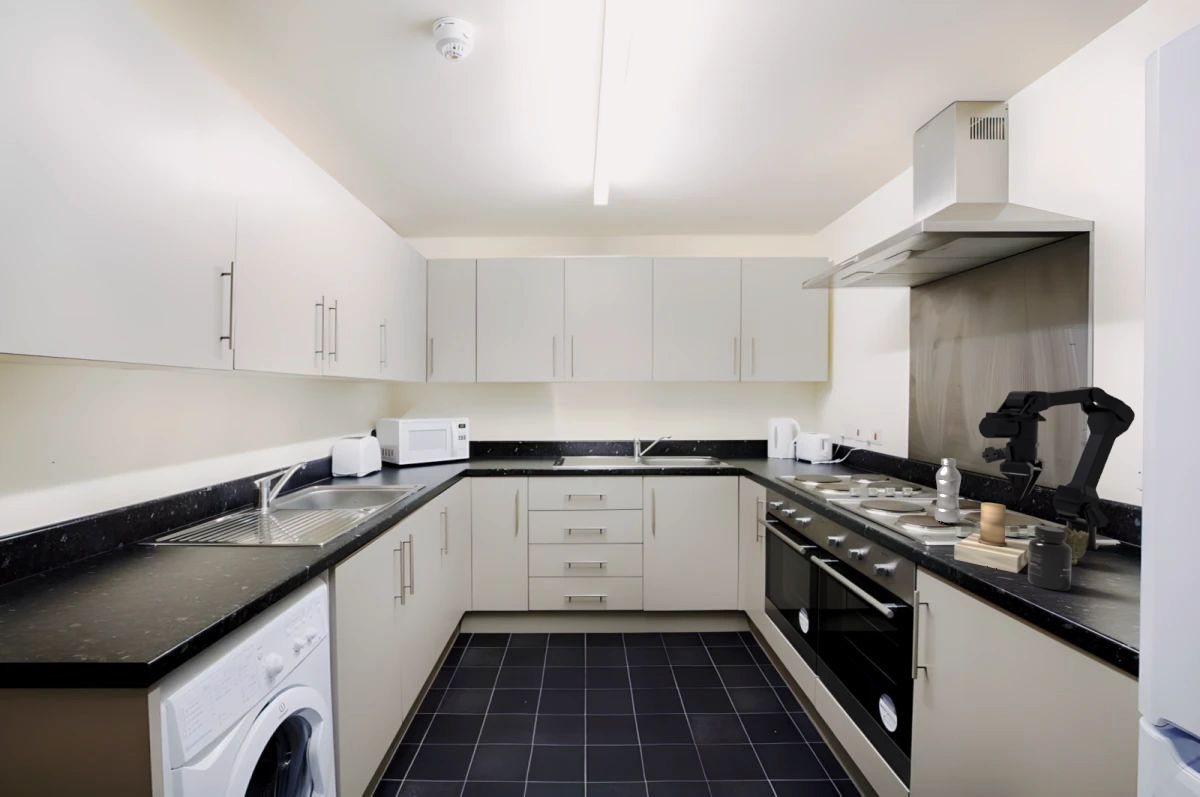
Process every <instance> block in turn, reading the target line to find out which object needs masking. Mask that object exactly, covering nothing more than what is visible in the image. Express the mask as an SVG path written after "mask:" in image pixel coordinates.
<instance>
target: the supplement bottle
mask: <svg viewBox="0 0 1200 797" xmlns="http://www.w3.org/2000/svg"><path fill="white" fill-rule="evenodd" d="M1034 530H1035V532H1034V536H1036V537H1035V538H1032V539H1031V540H1030V541H1029V542H1028V543H1029V553H1028V563H1027V580H1028V582H1029V583H1030V584H1032V585H1033V586H1035V585H1036V587H1038V588H1042V589H1045V588H1046V589H1045V590H1050V591H1056V590H1058V591H1059V592H1065V591H1066V592H1067V591H1069V590H1070V589H1071V582H1072V565H1071V562H1072V549H1071V547H1070V546H1069V545H1068V544H1066V543H1065V542H1064V541H1065V540H1066V531H1064V530H1062V529H1058V528H1057V527H1052V526H1043V525H1040V526H1039V525H1037V526H1035V529H1034Z"/></svg>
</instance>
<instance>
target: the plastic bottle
mask: <svg viewBox="0 0 1200 797" xmlns="http://www.w3.org/2000/svg"><path fill="white" fill-rule="evenodd" d="M940 459H941V460H940V465H941V467H940V468H938V470H937V472H936V474H935V481H936V488H937V489H936V492H937V494H936V495H937V496H936V497H937V498H936V506H935V508H934V509H935V510H934V515H933V516H934V519H935V520H936V521H937V520H938V521H943V522H958V523H959V522H960V519H961V512H960V505H959V504H960V503H959V494H960V486H961V484H962V483H961V480H962V474H961V473H960V472H959V470H958V469H957V467H956V466H957V460H956V459H955V458H947V457H946V458H945V457H944V458H940ZM938 521H937V522H938Z"/></svg>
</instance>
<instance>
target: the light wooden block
mask: <svg viewBox="0 0 1200 797" xmlns="http://www.w3.org/2000/svg"><path fill="white" fill-rule="evenodd" d="M978 538H980V533H974V532H973V533H971V534H970V535H969V536H967V537H965V538H963V539H962V540H960V541H958V542H957V543H956V544H954V550H953V551H954V553H953V554H954V555H953V558H954V560H956V561H961V562H965V563H969V564H974V565H979V566H982V567H983V566H984V567H987V566H988V567H987V568H993V569H996V568H997V569H996V570H1001V571H1006V572H1010V573H1015V574H1018V573H1019V572H1020V571H1021V570H1023V568H1024V567H1025V566H1027V565H1028V553H1029V542H1028V543H1027V542H1022V541H1017V540H1012V539H1006V538H1005V542H1007V546H1006V547H996V546H989V545H985V544H982V543H979V542H978Z"/></svg>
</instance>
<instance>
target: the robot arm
mask: <svg viewBox="0 0 1200 797" xmlns="http://www.w3.org/2000/svg"><path fill="white" fill-rule="evenodd" d="M1075 404H1076V405H1077V404H1079V406H1080V409H1081V411H1082V412H1083V413H1084V414H1085V415H1087V419H1086V424H1087V426H1088V430H1089V436H1088V439H1087V440H1086V443H1085V444H1084V445H1085V446H1084V449H1083V451H1082V453H1081V456H1080V459H1079V461H1078V463H1077V465H1076V468H1075V471H1074V473H1073V476H1072V478H1071V481H1070V482H1069V483H1067V484H1066V485H1064V484H1059V485H1058V486H1057V488H1056V492H1055V494H1054V495H1053V497H1052V499H1053V502H1052V504H1053V507H1054V509H1055V512H1056V516H1057V519H1059V520H1064V521H1066V527H1067V528H1069V529H1071V530H1072V531H1073V530H1074V529H1076V531H1077V533H1078V532H1079V531H1081V530H1082V532H1086V534H1087V533H1089V537H1088V543H1087V548H1086V550H1093V551H1097V550H1098V548H1099V547H1100V544H1099V543H1097V528H1103V527H1107V524H1108V522H1109V518H1108V517H1107V516H1106V514H1104V513H1103V511H1101V509H1100V508H1099V506H1100V502H1101V501H1100V500H1101V499H1100V496H1099V494H1098V491H1097V488H1098V487H1097V486H1098V484H1099V481H1100V479H1101V478H1102V474H1103V473H1104V469H1105V467H1106V464H1107V462H1108V459H1109V456H1110V454H1111V451H1112V450H1113V446H1114V444H1115V442H1116V440H1117V438H1118V437H1120V436H1121V435H1123V434H1124V433H1126V432H1127V431H1128V430H1129V429H1130V427H1131V425H1132V424H1133V422H1134V420H1135V415H1136V413H1135V411H1134V410H1133V408H1132V407H1131V406H1129V405H1128V404H1126V403H1125V401H1123V400H1121V399H1120V398H1118V397H1116V396H1113V395H1111V394H1109V393H1107V392H1106V391H1105V390H1104V389H1103V388H1101V387H1097V386H1080V387H1078V388H1070V389H1069V388H1068V389H1060V390H1059V389H1058V390H1051V391H1040V390H1012V391H1010V392H1008V395H1007V396H1006V398H1005V399H1004V400H1003V402H1002V403H1001V405H1000V407H999V408H998V409H997V410H996V412H993V411H990V412H989V411H988V412H985V416H984V417H983V418H982V419H981V420H980V422H979V424H978V431H979V433H980V435H981V436H982V437H984V438H985V439H1009V441H1007V442H1006V443H1005V447H1004V446H1003V447H999V448H995V447H994V446H988V447H985V448H984V451H982V452H981V454H982V456H981V457H982V458H983V459H984V461H985V463H986V464H990V463H993V462H998V461H1003V460H1004V461H1003V462H1000V464H999V472H1000V473H1001V475H1003V476H1005V477H1006V478H1007V479H1008V480H1009V483H1010V485H1011V490H1012V493H1013V497H1014V499H1015V500H1016V501H1021V500H1022V498H1023V497H1024V496H1026V497H1029V495H1030V494H1031V492H1032V490H1033V489H1034V488H1035V487H1034V486H1035V484H1036V483H1038V481H1039V478H1040V476H1041V475H1042V474H1043V472H1044V469H1046V468H1045V466H1046V461H1045V460H1044V459H1042V458H1041V457H1038V448H1039V447H1040V442H1039V422H1047V418H1045V417H1044V416H1043V415H1042V414H1040V413H1041V412H1044V411H1047V410H1049V409H1050V408H1052V407H1057V406H1065V405H1075ZM1037 468H1039V469H1037Z"/></svg>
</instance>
